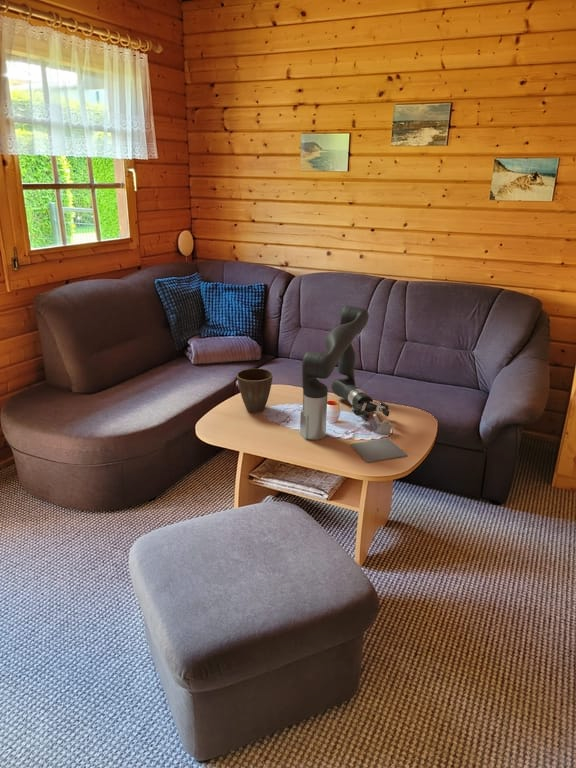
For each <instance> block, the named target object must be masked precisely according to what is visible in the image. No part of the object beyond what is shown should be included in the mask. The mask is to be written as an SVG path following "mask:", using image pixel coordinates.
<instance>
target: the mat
mask: <svg viewBox="0 0 576 768" xmlns="http://www.w3.org/2000/svg"><path fill="white" fill-rule="evenodd" d="M349 445H350V446H351V448H352V449H353V450H354V451H355V452H356V453H357V454H358V455H359V456H360V457H361V458H362V459H363V460H364V461H365V462H366V463H367V464H369V463H374V462H381V461H387V460H393V459H399V457H400V458H404V457H405V456H406V457H408V454H407V453H406V452H405V451H404V450H402V449H401V448H400V447H399V446H398V445H397V443H394V442H393V440H391V439H390V438H388V437H387V438H382V439H375V440H369V441H368V440H367V441H362V442H354V443H350V444H349ZM406 457H405V458H406Z"/></svg>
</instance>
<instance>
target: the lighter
mask: <svg viewBox="0 0 576 768" xmlns="http://www.w3.org/2000/svg"><path fill="white" fill-rule="evenodd" d="M372 415H373V419H374V421H375V423H376V425H379V429H378V430H379V432H378V433H379V434H380V435H391V429H392V423H391V422H390V421H389V420H388V419H387V420H386V419H383V420H382V421H380V418H379V417H378V413H373V414H372Z"/></svg>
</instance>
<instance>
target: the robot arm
mask: <svg viewBox="0 0 576 768" xmlns="http://www.w3.org/2000/svg"><path fill="white" fill-rule="evenodd" d="M368 321H369V312H368V310H367V309H366V308H362V307H359V306H352V305H345V306H344V307H343V308H342V310H341V314H340V319H339V325H337V326H336V327H334V328H333V329H332V330H331V331H330V332H329V333H328V334H327V336H326V338H325V342H324V344H325V348H326V351H327V353H324V352H316V351H306V353H304V355H303V359H302V363H301V374H302V379H301V380H302V385H301V387H302V410H300V419H299V421H300V424H299V425H300V426H299V428H300V429H299V434H300V435H301V436H302V437H303V439H305V440H310V441H319V440H322V439H324V438H325V437H326V435H327V434H326V433H327V415H328V414H327V413H328V411H327V410H328V393H329V392H328V391H329V390H328V389H329V388H328V386H327V385H326V384H324V383H323V382H321V381H320V380H318V379H323V380H324V379H325V380H326V379H328V378H329V377H330V376H331V375H332V373H333V372H334V370H335V369H336V367H337V371H338V373H339V374H341V375H342V376H346V377H345V378H336V379H334V380H333V381H332V383H331V390H332V392H333V394H334V395H335V396H337V397H339V398H341V399H343V400H344V399H345V400H347V401H348V403H350V405H351V412H352V413H353V414H354V415H355V416H356V417H360V416H361V417H364V419H366V420H370V417H371V416H370V413H372V412H373V413H375V414H378V413H381V414H382V415H384V417H386V418H387V417H389V416H390V411H389V405H388V404H387V403H385V402H384V401H382V400H380V401H379V402H375V401H374V400H373V398H372V397H371V396H370V395H369V394H367V392H364V390H362V389H360V388H359V387H357V385H356V381H355V365H356V351H355V349H354V347H353V344H352V342H353V341H354V339H355V338H356V337H357V336H358V334H360V333H361V332H362V331H363V330H364V329H365V327H366V326H367V323H368Z"/></svg>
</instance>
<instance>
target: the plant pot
mask: <svg viewBox="0 0 576 768" xmlns="http://www.w3.org/2000/svg"><path fill="white" fill-rule="evenodd" d="M273 376H274V373H273V372H272V371H270V370H268V369H265V368H247V369H242V370H240V371H238V373H236V378H237V384H238V388H239V391H240V395H241V398H242V402H243V404H244V406H245V407H244V408H245V409H246V411H247V412H248V413H254V414H258V413H261V412H263V411H265V408H266V406H267V402H268V399H269V397H270V393H271V388H272V383H273Z"/></svg>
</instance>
